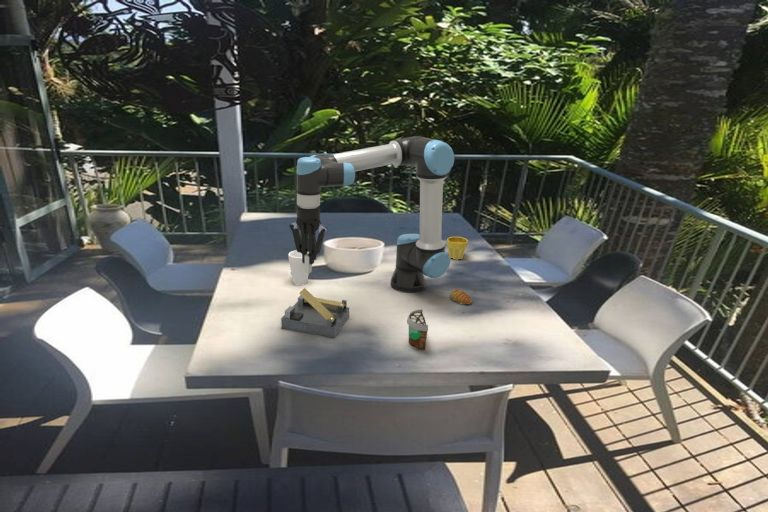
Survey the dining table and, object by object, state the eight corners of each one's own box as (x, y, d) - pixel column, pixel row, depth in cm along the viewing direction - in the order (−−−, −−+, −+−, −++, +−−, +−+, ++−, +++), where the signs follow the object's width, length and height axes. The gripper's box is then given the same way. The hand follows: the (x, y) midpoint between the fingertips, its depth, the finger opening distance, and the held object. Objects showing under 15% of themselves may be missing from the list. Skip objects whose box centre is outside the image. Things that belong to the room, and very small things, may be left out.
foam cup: (306, 287, 205) (306, 259, 200) (285, 284, 206) (285, 256, 202) (313, 279, 213) (313, 251, 209) (294, 276, 215) (293, 249, 210)
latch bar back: (345, 306, 180) (345, 302, 179) (342, 310, 177) (343, 306, 177) (307, 299, 183) (307, 295, 183) (303, 302, 180) (304, 298, 180)
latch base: (349, 316, 183) (349, 300, 180) (334, 338, 168) (334, 320, 165) (300, 308, 187) (299, 292, 185) (281, 328, 172) (280, 311, 169)
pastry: (475, 303, 199) (476, 295, 197) (463, 307, 195) (464, 299, 193) (459, 295, 206) (460, 286, 204) (447, 298, 202) (448, 290, 200)
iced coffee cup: (403, 333, 173) (405, 308, 169) (420, 333, 173) (422, 308, 170) (407, 352, 161) (409, 326, 158) (425, 352, 162) (428, 326, 158)
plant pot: (443, 259, 244) (444, 240, 240) (448, 252, 253) (450, 235, 249) (463, 263, 240) (465, 244, 237) (467, 256, 249) (469, 238, 246)
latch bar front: (333, 320, 170) (336, 317, 170) (330, 324, 168) (333, 321, 167) (302, 290, 169) (304, 287, 169) (298, 293, 167) (301, 290, 166)
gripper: (331, 205, 160) (329, 271, 169) (295, 200, 163) (295, 265, 172) (322, 211, 153) (321, 279, 162) (285, 205, 156) (285, 273, 165)
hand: (308, 272), depth 167 cm, fingers closed
